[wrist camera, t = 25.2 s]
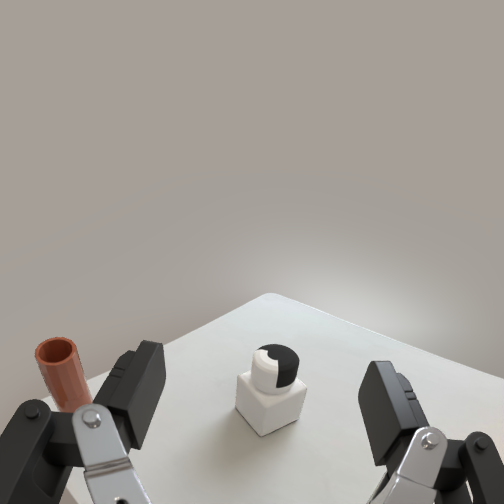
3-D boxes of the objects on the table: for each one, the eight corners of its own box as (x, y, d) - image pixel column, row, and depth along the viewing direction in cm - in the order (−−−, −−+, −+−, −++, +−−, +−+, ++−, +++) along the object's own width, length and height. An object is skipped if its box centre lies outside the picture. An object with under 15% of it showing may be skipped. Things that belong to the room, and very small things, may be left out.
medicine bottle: (272, 391, 46) (282, 333, 42) (299, 418, 41) (315, 360, 37) (234, 406, 43) (238, 347, 39) (260, 438, 37) (270, 379, 33)
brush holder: (68, 440, 30) (33, 367, 26) (65, 411, 35) (36, 339, 30) (104, 435, 33) (76, 362, 28) (97, 407, 38) (75, 334, 33)
